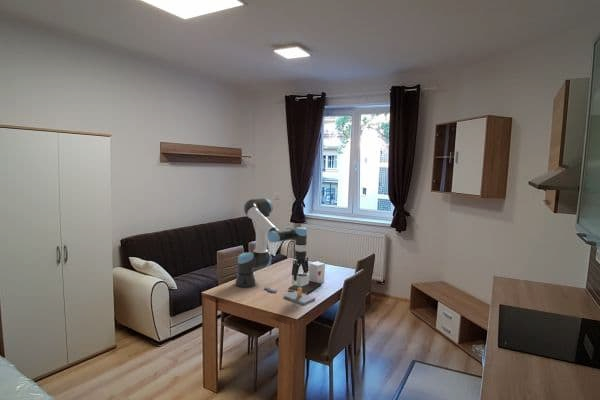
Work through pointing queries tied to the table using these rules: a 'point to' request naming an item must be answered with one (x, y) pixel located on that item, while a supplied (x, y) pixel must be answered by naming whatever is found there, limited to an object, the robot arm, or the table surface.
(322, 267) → the supplement box
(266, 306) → the table surface
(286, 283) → the table surface
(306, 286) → the hardcover book
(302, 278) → the square tube segment
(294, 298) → the keeper
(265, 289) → the chain tail
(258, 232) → the robot arm
